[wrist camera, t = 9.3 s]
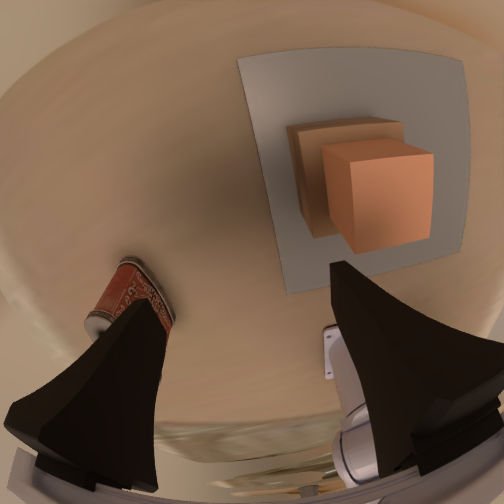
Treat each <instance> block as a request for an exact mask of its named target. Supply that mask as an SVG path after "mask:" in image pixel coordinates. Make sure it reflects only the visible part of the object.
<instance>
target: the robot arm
mask: <svg viewBox="0 0 504 504" xmlns="http://www.w3.org/2000/svg"><path fill="white" fill-rule="evenodd" d="M329 268H330V286H331V305H332V308H333V312H334V315H335V319H336V322H337V325H338V326H334V327H330V328H326V329H325V330H324V332H323V336H324V364H325V378H326V379H332V378H334V381H335V385H336V389H337V392H338V396H339V400H340V404H341V408H342V412H343V415H344V417H345V419H344V420H342V421H340V425H341V429H342V430H340V431H338V432H337V433H336V435H335V438H334V440H333V443H332V456H333V461H334V465H335V468H336V470H337V472H338V474H339V476H340V477H341V478H342V479H343V480H344V482H345V484H346V486H347V488H348V489H345V490H341V491H337V492H332V493H328V494H323V495H318V496H312V497H306V498H300V499H292V500H285V501H274V502H261V503H203V502H191V501H181V500H172V499H165V498H159V497H153V496H147V495H142V494H137V493H133V492H128V491H124V490H122V488H123V489H128V490H131V489H134V490H139V491H145V492H149V493H154V492H155V491H157V490H158V483H157V476H156V470H155V459H154V412H155V402H156V396H157V391H158V386H159V382H160V377H161V372H162V368H163V363H164V358H165V352H166V341H167V331H166V330H165V328H164V326H163V325H162V323H161V321H160V319H159V318H158V316H157V314H156V312H155V310H154V309H153V307H152V305H151V303H150V301H149V299H148V298H143V299H136V300H134V301H133V302H132V303H131V304H130V305H129V306H128V307H127V308H126V309H125V310H124V311H123V312H122V313H121V314H120V315H119V316H118V317H117V319H116V320H115V321H114V322H113V323H112V324H111V325H110V326H109V327H108V328H107V330H106V331H105V332H104V333H103V334H102V335H101V336H100V337H99V338H98V339H97V340H96V341H95V342H94V343H93V344H92V345H91V346H90V348H89V349H88V350H87V351H86V352H85V353H84V354H83V355H81V356H80V357H79V358H78V359H77V360H76V361H75V362H74V363H73V364H72V365H70V366H69V367H68V368H67V369H66V370H64V371H63V372H62V373H61V374H59V375H58V376H57V377H55V378H54V379H53V380H52V381H50V382H49V383H47V384H46V385H44V386H43V387H41V388H40V389H38V390H36V391H35V392H33V393H31V394H29V395H27V396H25V397H23V398H21V399H20V400H18V401H16V402H13V403H12V405H11V407H10V409H9V411H8V414H7V416H6V418H5V421H4V427H5V428H6V429H7V430H8V431H9V432H10V433H11V434H13V435H14V436H15V437H17V438H18V439H19V440H21V441H22V442H23V443H25V444H26V445H28V446H29V447H31V448H32V449H34V450H35V451H37V452H38V455H37V457H36V456H34V455H32V454H30V453H29V452H26V451H25V450H23V449H21V448H17V451H16V454H15V457H14V461H13V465H12V468H11V472H10V476H9V480H8V485H7V489H8V491H10V492H11V493H12V494H13V495H15V496H16V497H17V498H19V499H20V500H21V501H22V502H24V503H25V504H365V503H366V504H491V503H492V502H493V501H495V500H496V499H497V498H498V497H499V496H500V495H501V494H502V493H503V492H504V412H503V413H501V414H500V413H499V411H498V409H497V408H499V407H500V406H501V402H500V401H499V398H498V395H499V394H500V393H501V392H502V391H503V390H504V343H500V342H496V341H492V340H488V339H484V338H480V337H477V336H474V335H471V334H468V333H465V332H462V331H459V330H457V329H454V328H452V327H449V326H447V325H445V324H442V323H440V322H438V321H436V320H433V319H431V318H429V317H427V316H425V315H424V314H422V313H420V312H418V311H416V310H414V309H413V308H411V307H409V306H407V305H406V304H404V303H403V302H401V301H399V300H398V299H396V298H395V297H393V296H392V295H390V294H389V293H387V292H386V291H384V290H383V289H382V288H380V287H379V286H378V285H376V284H375V283H374V282H372V281H371V280H370V279H368V278H367V277H366V276H365V275H363V274H362V273H361V272H359V271H358V270H357V269H356V268H354V267H353V266H352V265H351V264H349V263H348V262H347V261H345V260H342V261H338V262H333V263H329ZM328 335H329V336H328Z"/></svg>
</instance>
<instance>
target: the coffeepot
mask: <svg viewBox="0 0 504 504" xmlns="http://www.w3.org/2000/svg"><path fill="white" fill-rule="evenodd" d="M299 492H300V495H301V498H306V497H312V496H318V485H311V486H305V487H301V488H299Z"/></svg>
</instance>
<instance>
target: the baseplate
mask: <svg viewBox="0 0 504 504" xmlns="http://www.w3.org/2000/svg"><path fill="white" fill-rule="evenodd" d="M237 63H238V67H239V71H240V75H241V79H242V83H243V88H244V92H245V96H246V100H247V105H248V109H249V113H250V118H251V122H252V126H253V131H254V135H255V140H256V144H257V149H258V153H259V158H260V163H261V167H262V172H263V177H264V181H265V186H266V191H267V196H268V201H269V206H270V210H271V215H272V220H273V225H274V231H275V236H276V241H277V246H278V251H279V256H280V262H281V267H282V273H283V278H284V283H285V289H286V293H287V295H289V294H294V293H299V292H304V291H309V290H313V289H318V288H323V287H327V286H330V268H329V263H333V262H338V261H342V260H345V261H347V262H348V263H349V264H351V265H352V266H353V267H354V268H356V269H357V270H358V271H359V272H361V273H362V274H363V275H365V276H366V277H370V276H374V275H378V274H382V273H386V272H390V271H394V270H398V269H401V268H405V267H409V266H413V265H416V264H420V263H423V262H427V261H430V260H434V259H437V258H441V257H444V256H448V255H451V254H454V253H458V252H460V250H461V244H462V239H463V233H464V227H465V220H466V213H467V204H468V194H469V181H470V155H471V143H470V117H469V105H468V95H467V87H466V80H465V73H464V68H463V62H462V61H461V60H457V59H452V58H448V57H443V56H438V55H432V54H426V53H420V52H412V51H404V50H395V49H382V48H360V47H336V48H313V49H300V50H290V51H281V52H274V53H267V54H260V55H254V56H249V57H244V58H239V59H237ZM358 117H378V118H384V119H389V120H395V121H400V122H403V132H404V143H406V144H409V145H411V146H414V147H417V148H420V149H422V150H425V151H428V152H430V153H433V157H434V178H433V203H432V217H431V228H430V237H429V238H426V239H422V240H418V241H414V242H409V243H405V244H401V245H397V246H392V247H388V248H384V249H379V250H375V251H371V252H366V253H362V254H357V255H355V254H354V252H353V251H352V249H351V248H350V246H349V245H348V243H347V242H346V240H345V239H344V237H343V236H342V234H341V233H340V234H335V235H330V236H325V237H320V238H315V239H314V238H313V236H312V234H311V232H310V230H309V228H308V226H307V224H306V222H305V220H304V218H303V216H302V214H301V212H300V205H299V199H298V193H297V186H296V180H295V174H294V169H293V163H292V157H291V152H290V146H289V141H288V136H287V131H286V126H291V125H297V124H304V123H311V122H319V121H327V120H336V119H346V118H358Z"/></svg>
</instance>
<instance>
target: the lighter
mask: <svg viewBox="0 0 504 504" xmlns="http://www.w3.org/2000/svg"><path fill="white" fill-rule="evenodd" d="M143 298H148V299H149V301H150V303H151V305H152V307H153V309H154V310H155V312H156V314H157V316H158V318H159V319H160V321H161V323H162V325H163V326H164V328H165V330H166V331H167V341H166V346H167V342H168V338H169V334H170V330H171V328H172V327H173V325H174V322H175V318H176V317H175V313H174V310H173V308H172V305H171V303H170V301H169V299H168V297H167V295H166V293H165V291H164V289H163V287H162V286H161V285H160V283H159V282H158V280H157V279H156V277H155V276H154V274H153V273H152V272H151V271H150V269H149V268H148V267H147V266H146V264H145V263H144V262H143V261H142V260H141V259H140V258H137V257H135V256H127V257H125V258H123V259H122V260H121V261H120V263H119V264H118V266H117V268H116V273H115V275H114V276H113V278H112V280H111V281H110V283H109V285H108V286H107V288H106V290H105V291H104V293H103V295H102V296H101V298H100V300H99V302H98V303H97V305H96V307H95V309H94V310H93V311H91V312H90V313H89V314H88V316H87V318H86V320H85V321H84V327H85V330H86V331H87V333H88V335H89V336H90V338H91V339H92V341H93V342H95V341H96V340H97V339H98V338H99V337H100V336H101V335H102V334H103V333H104V332H105V331H106V330H107V328H108V327H109V326H110V325H111V324H112V323H113V322H114V321H115V320H116V319H117V317H118V316H119V315H120V314H121V313H122V312H123V311H124V310H125V309H126V308H127V307H128V306H129V305H130V304H131V303H132V302H133V301H134V300H136V299H143ZM161 378H162V374H161V377H160V382H159V385H160V383H161Z"/></svg>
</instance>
